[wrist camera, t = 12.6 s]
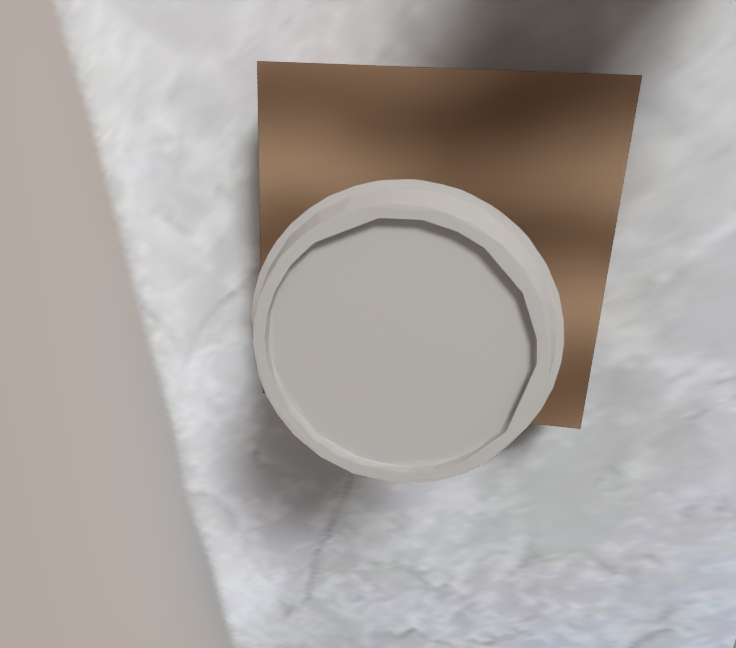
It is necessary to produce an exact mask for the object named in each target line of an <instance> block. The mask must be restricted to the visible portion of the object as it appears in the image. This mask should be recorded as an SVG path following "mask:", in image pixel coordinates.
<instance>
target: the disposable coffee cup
mask: <svg viewBox="0 0 736 648" xmlns="http://www.w3.org/2000/svg"><path fill="white" fill-rule="evenodd" d="M251 327H252V337H253V349H254V354H255V359H256V365H257V370H258V375H259V378H260V380H261V383H262V385H263V388H264V391H265V393H266V396H267V398H268V399H269V401H270V403H271V405H272V406H273V408H274V410H275V411H276V413H277V415H278V416H279V417H280V418H281V420H282V421H283V422H284V423H285V425H286V426H287V427H288V428H289V430H290V431H291V432H292V433H293V435H294V436H296V437H297V438H298V439H299V440H300V441H302V442H303V443H304V444H305V445H307V446H308V447H309V448H310V449H311V450H313V451H314V452H315V453H316V454H317V455H319V456H320V457H322V458H324V459H326V460H328V461H330V462H331V463H333V464H335V465H337V466H339V467H341V468H343V469H345V470H347V471H349V472H351V473H353V474H357V475H361V476H366V477H370V478H374V479H379V480H383V481H387V482H392V483H406V482H435V481H438V480H442V479H446V478H449V477H453V476H456V475H460V474H463V473H466V472H468V471H470V470H472V469H474V468H476V467H478V466H480V465H482V464H484V463H486V462H488V461H490V460H491V459H492V458H494V457H495V456H496V455H497V454H499V453H500V452H501V451H502V450H504V449H505V448H506V447H508V446H509V445H510V444H511V443H512V442H513V441H514V440H515V439H516V438H517V437H518V436H519V435H520V434H521V433H522V432H523V431H524V430H525V429H526V428H527V427H528V426H529V424H530V423H531V422H532V420H533V419H534V418H535V417H536V415H537V414H538V413H539V412H540V410H541V409H542V407H543V406H544V404H545V402H546V400H547V398H548V396H549V394H550V393H551V391H552V389H553V387H554V384H555V380H556V377H557V374H558V371H559V368H560V365H561V361H562V354H563V347H564V320H563V314H562V308H561V302H560V296H559V292H558V290H557V288H556V285H555V283H554V281H553V278H552V276H551V273H550V271H549V269H548V266H547V264H546V263H545V261H544V260H543V258H542V257H541V255H540V254H539V252H538V251H537V249H536V248H535V246H534V245H533V243H532V242H531V240H530V239H529V237H528V236H527V235H526V234H525V233H524V232H523V231H522V230H521V229H520V228H519V227H518V226H517V225H516V224H515V223H514V222H512V221H511V220H510V219H509V218H508V217H506V216H505V215H504V214H503V213H502V212H500V211H499V210H498V209H496V208H495V207H493V206H492V205H490V204H488V203H486V202H485V201H483V200H481V199H479V198H477V197H475V196H473V195H471V194H469V193H467V192H465V191H463V190H461V189H457V188H454V187H450V186H447V185H443V184H438V183H433V182H428V181H423V180H415V179H400V180H380V181H374V182H370V183H365V184H361V185H356V186H353V187H351V188H348V189H346V190H343V191H340V192H338V193H335V194H333V195H330V196H328V197H326V198H325V199H323V200H322V201H320V202H318V203H317V204H315V205H314V206H312V207H311V208H309V209H308V210H307V211H305V212H304V213H303V214H302V215H301V216H299V217H298V218H297V219H296V220H295V221H294V222H292V223H291V224H290V225H289V227H288V228H287V229H286V230H285V231H284V233H283V234H282V235H281V236H280V237H279V239H278V240H277V241H276V243H275V244H274V246H273V247H272V249H271V251H270V252H269V254H268V256H267V258H266V260H265V262H264V264H263V266H262V268H261V271H260V273H259V276H258V280H257V284H256V288H255V291H254V295H253V302H252V314H251Z"/></svg>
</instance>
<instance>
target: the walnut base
mask: <svg viewBox="0 0 736 648" xmlns="http://www.w3.org/2000/svg"><path fill="white" fill-rule="evenodd" d="M641 79H642V75H618V74H591V73H565V72H538V71H511V70H484V69H457V68H430V67H403V66H376V65H349V64H322V63H295V62H268V61H257V80H258V137H259V194H260V251H261V268H262V266H263V264H264V262H265V260H266V258H267V256H268V254H269V252H270V251H271V249H272V247H273V246H274V244H275V243H276V241H277V240H278V239H279V237H280V236H281V235H282V234H283V233H284V231H285V230H286V229H287V228H288V227H289V225H290V224H291V223H292V222H294V221H295V220H296V219H297V218H298V217H299V216H301V215H302V214H303V213H304V212H305V211H307V210H308V209H309V208H311V207H312V206H314V205H315V204H317V203H318V202H320V201H322V200H323V199H325V198H326V197H328V196H330V195H333V194H335V193H338V192H340V191H343V190H346V189H348V188H351V187H353V186H356V185H361V184H365V183H370V182H374V181H380V180H400V179H415V180H423V181H428V182H433V183H438V184H443V185H447V186H450V187H454V188H457V189H461V190H463V191H465V192H467V193H469V194H471V195H473V196H475V197H477V198H479V199H481V200H483V201H485V202H486V203H488V204H490V205H492V206H493V207H495V208H496V209H498V210H499V211H500V212H502V213H503V214H504V215H505V216H506V217H508V218H509V219H510V220H511V221H512V222H514V223H515V224H516V225H517V226H518V227H519V228H520V229H521V230H522V231H523V232H524V233H525V234H526V235H527V236H528V237H529V239H530V240H531V242H532V243H533V245H534V246H535V248H536V249H537V251H538V252H539V254H540V255H541V257H542V258H543V260H544V261H545V263H546V264H547V266H548V269H549V271H550V273H551V276H552V278H553V281H554V283H555V285H556V288H557V290H558V292H559V296H560V302H561V308H562V314H563V320H564V347H563V354H562V361H561V365H560V368H559V371H558V374H557V377H556V380H555V384H554V387H553V389H552V391H551V393H550V394H549V396H548V398H547V400H546V402H545V404H544V406H543V407H542V409H541V410H540V412H539V413H538V414H537V415H536V417H535V418H534V419H533V420H532V422H531V423H532V424H541V425H550V426H559V427H567V428H576V429H580V428H581V422H582V417H583V411H584V405H585V400H586V394H587V388H588V382H589V377H590V371H591V365H592V359H593V354H594V348H595V342H596V336H597V331H598V325H599V319H600V314H601V308H602V302H603V296H604V291H605V285H606V279H607V273H608V268H609V262H610V256H611V251H612V245H613V239H614V233H615V228H616V222H617V216H618V210H619V205H620V199H621V193H622V188H623V182H624V176H625V170H626V165H627V159H628V153H629V147H630V142H631V136H632V130H633V124H634V119H635V113H636V107H637V102H638V96H639V90H640V84H641ZM263 393H265V391H264V388H263Z"/></svg>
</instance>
